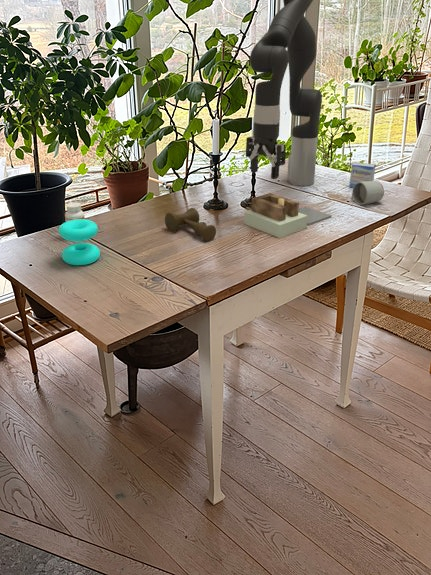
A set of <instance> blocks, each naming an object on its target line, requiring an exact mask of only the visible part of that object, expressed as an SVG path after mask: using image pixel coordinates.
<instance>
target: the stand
mask: <svg viewBox="0 0 431 575" xmlns="http://www.w3.org/2000/svg"><path fill="white" fill-rule="evenodd" d="M278 205H283V206H284V199H283V198H280V199H278ZM243 213H244V214H243V225H246V226H249V227H251V228H253V229H256V230H259V231H261V232H264V233H266V234H269V235H271V236H273V237H275V238H279V239H280V238H283V237H286V236H289V235H292V234H294V233H296V232H299V231H303V230H305V229H307V228H308V225H307V218H308V216H307V215H305V214H302V213H299V212H298V216H295V217H290V216H288V215H287V214H286V220H283V221H280V222H279V221H277V220H274V219H272V218H269V217H266V216H264V215H261V214H258V213H256V212H253V211H251V208H250V209H248V210H244V211H243Z"/></svg>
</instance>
